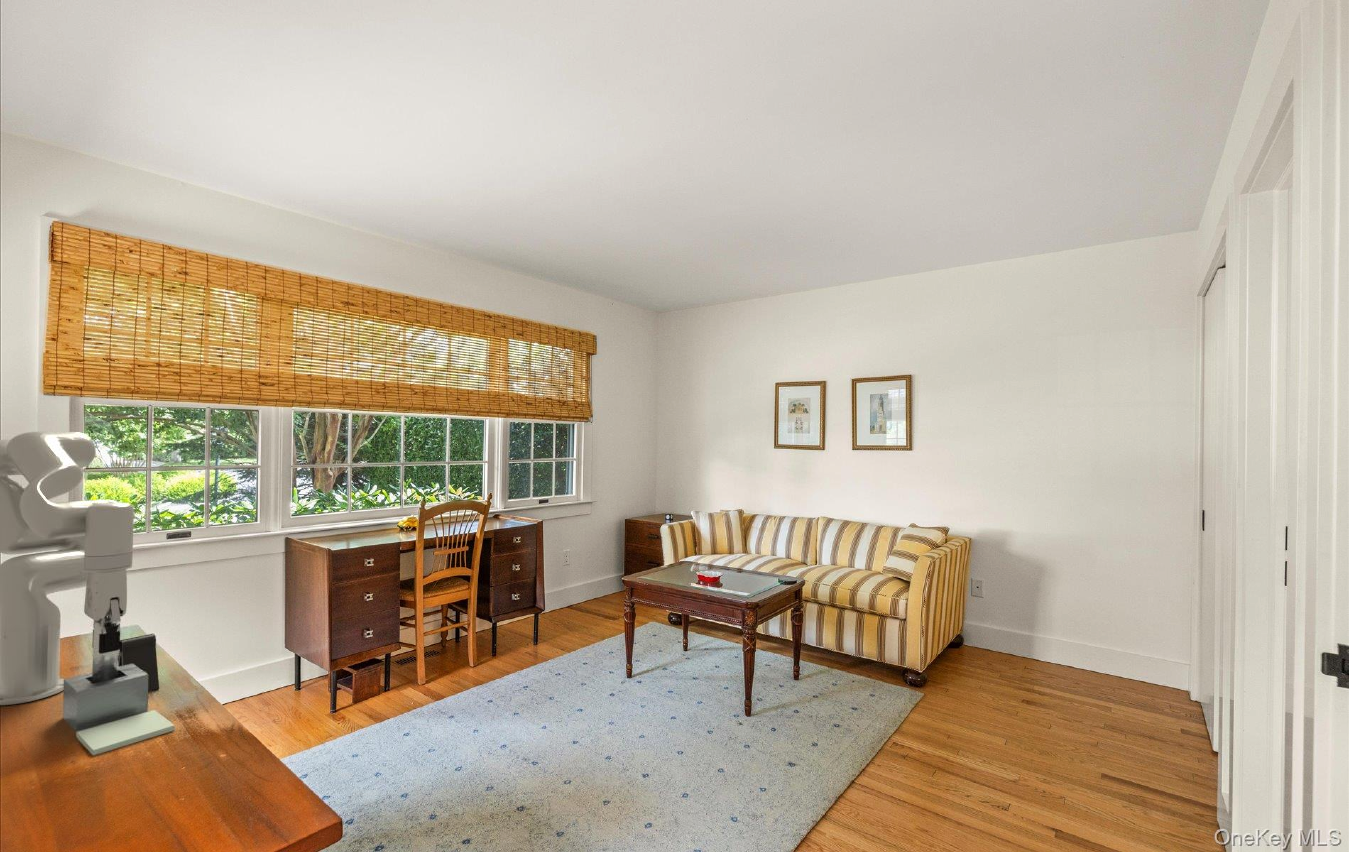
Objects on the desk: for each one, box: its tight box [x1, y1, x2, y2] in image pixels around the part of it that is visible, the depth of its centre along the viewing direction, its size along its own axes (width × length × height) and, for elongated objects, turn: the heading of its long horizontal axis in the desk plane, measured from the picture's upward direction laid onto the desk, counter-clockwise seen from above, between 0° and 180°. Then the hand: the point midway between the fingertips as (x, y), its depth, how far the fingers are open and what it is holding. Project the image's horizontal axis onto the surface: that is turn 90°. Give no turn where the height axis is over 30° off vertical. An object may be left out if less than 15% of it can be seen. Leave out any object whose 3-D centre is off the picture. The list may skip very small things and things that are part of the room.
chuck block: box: [62, 664, 149, 733], centre depth 129 cm, size 11×11×8 cm
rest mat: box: [75, 709, 176, 756], centre depth 121 cm, size 12×12×1 cm
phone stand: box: [118, 633, 160, 693], centre depth 143 cm, size 9×6×12 cm, turn 54°
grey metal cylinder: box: [91, 620, 119, 682], centre depth 129 cm, size 4×4×12 cm
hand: (106, 648), depth 129 cm, fingers closed on grey metal cylinder, 4 cm apart
